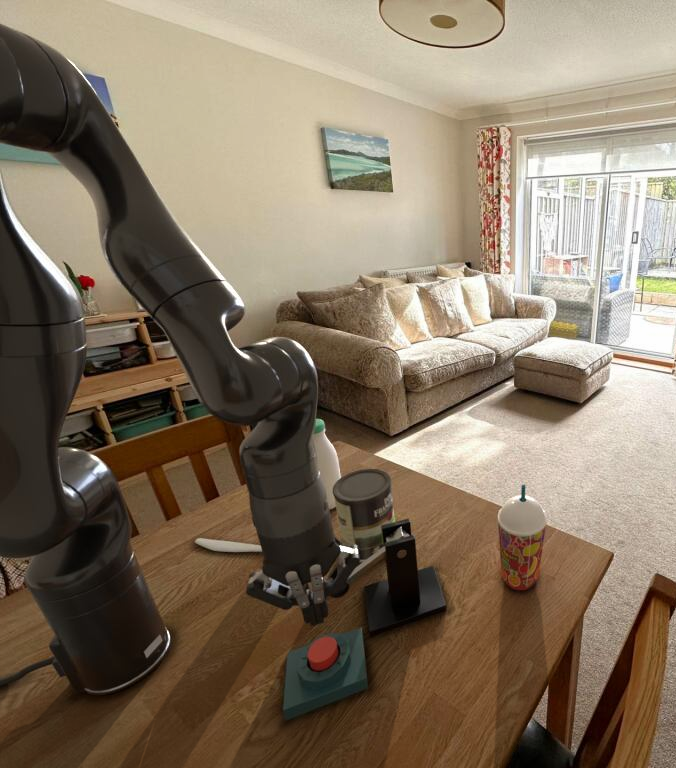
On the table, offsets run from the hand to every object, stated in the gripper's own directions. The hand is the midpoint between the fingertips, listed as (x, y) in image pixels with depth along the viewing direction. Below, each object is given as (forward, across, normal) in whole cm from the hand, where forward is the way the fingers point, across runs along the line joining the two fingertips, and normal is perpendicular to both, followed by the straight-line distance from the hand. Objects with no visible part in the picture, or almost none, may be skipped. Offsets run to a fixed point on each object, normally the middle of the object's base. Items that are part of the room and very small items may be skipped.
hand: (317, 619), depth 53 cm
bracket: (+11, -12, -8) cm, 18 cm away
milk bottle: (+11, 0, -41) cm, 42 cm away
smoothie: (+11, -32, -5) cm, 34 cm away
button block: (+11, 0, 0) cm, 11 cm away
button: (+7, 0, 0) cm, 7 cm away
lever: (+2, -8, -8) cm, 11 cm away
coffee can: (+11, -8, -24) cm, 27 cm away
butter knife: (+11, +12, -30) cm, 34 cm away
